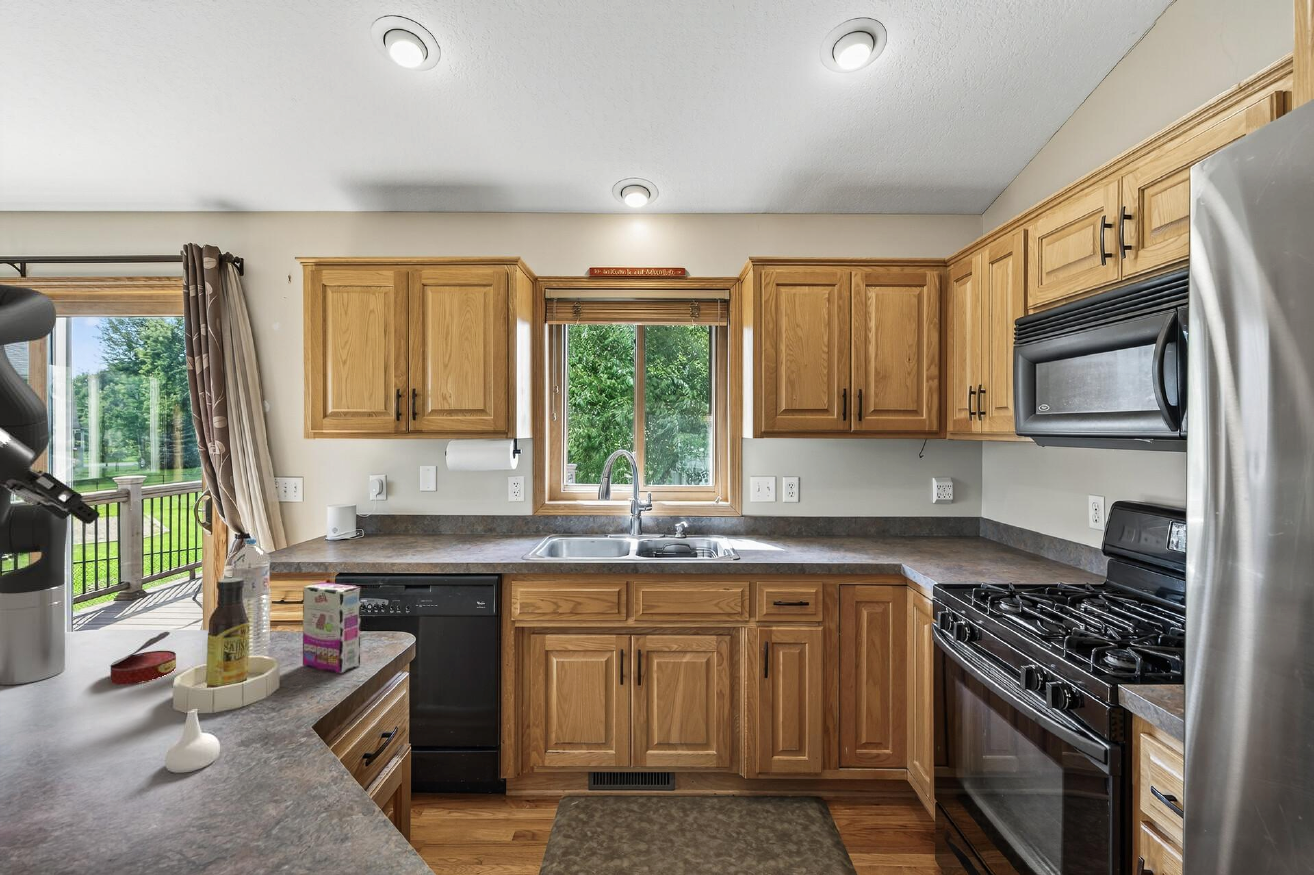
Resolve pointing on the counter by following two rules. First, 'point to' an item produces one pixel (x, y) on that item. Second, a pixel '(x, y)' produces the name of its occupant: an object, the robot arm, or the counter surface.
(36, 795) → the counter surface
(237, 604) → the sauce bottle
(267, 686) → the bowl
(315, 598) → the candy bar box
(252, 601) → the water bottle
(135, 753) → the counter surface
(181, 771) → the garlic bulb
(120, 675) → the canned food
